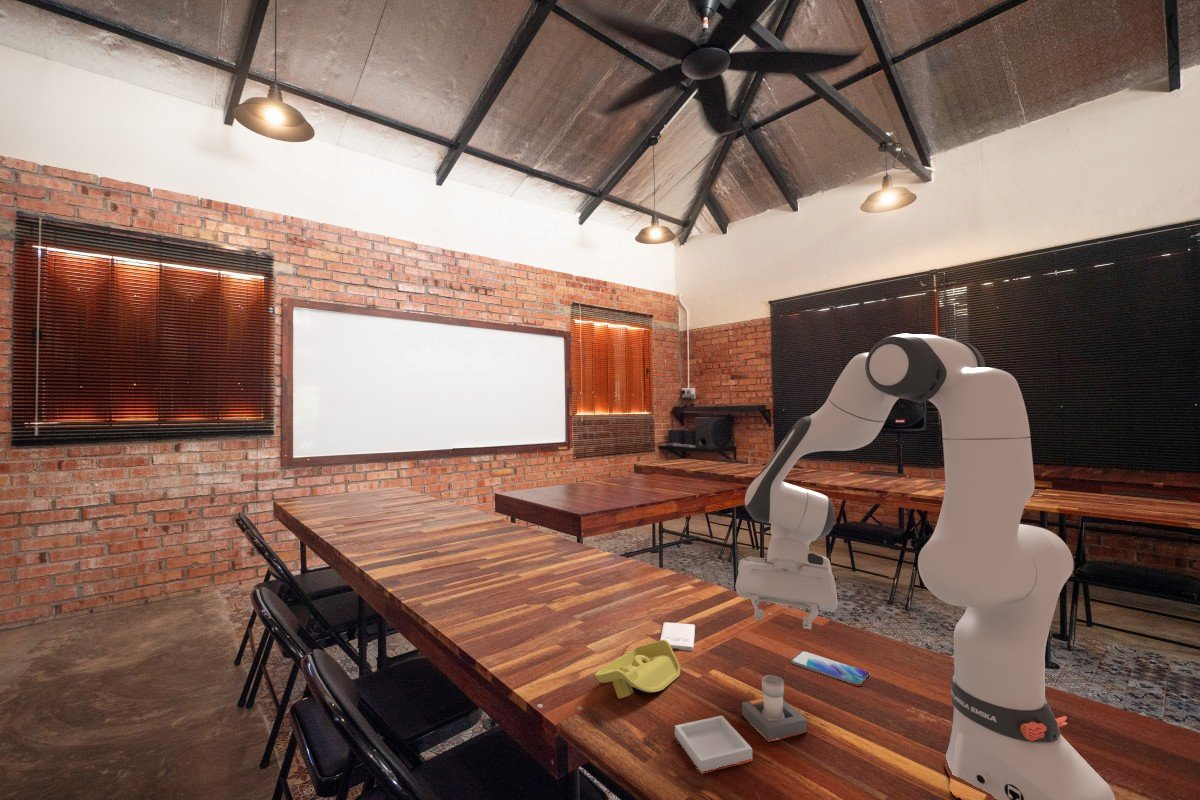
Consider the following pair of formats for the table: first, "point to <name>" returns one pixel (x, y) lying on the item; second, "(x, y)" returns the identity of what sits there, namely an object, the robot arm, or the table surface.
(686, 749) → the tray
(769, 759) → the table surface
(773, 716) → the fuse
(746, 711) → the block
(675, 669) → the plastic component
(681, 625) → the external hard drive
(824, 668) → the smartphone
